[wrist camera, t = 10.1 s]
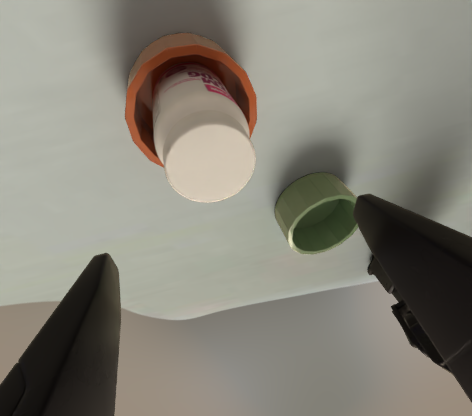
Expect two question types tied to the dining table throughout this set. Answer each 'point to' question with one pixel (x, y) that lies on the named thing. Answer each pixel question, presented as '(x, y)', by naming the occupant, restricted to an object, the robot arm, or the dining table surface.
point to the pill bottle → (200, 134)
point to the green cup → (316, 213)
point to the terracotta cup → (167, 55)
